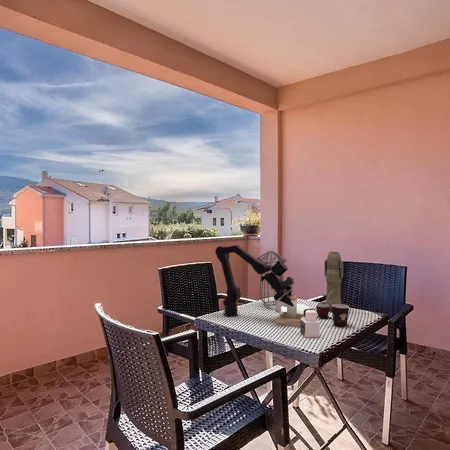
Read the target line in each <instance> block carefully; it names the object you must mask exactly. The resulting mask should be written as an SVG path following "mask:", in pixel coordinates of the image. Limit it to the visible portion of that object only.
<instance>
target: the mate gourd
mask: <svg viewBox="0 0 450 450" xmlns="http://www.w3.org/2000/svg"><path fill="white" fill-rule="evenodd" d="M331 292H333V291H331ZM331 292H330V293H331ZM330 293H329V294H328V297H329V295H330ZM326 297H327V296H326ZM328 297H327V300H328ZM327 300H326V299H325V302H323V301H321V302H317V304H316V307H315V310H316V311H317V318H319V320H322V319H326V320H328V319H329V317H328V316H329V313H330V312H329V310H327V309H329V305H328V304H327ZM326 310H327V312H326V314H327V315H328V316H327V315H326V314H325V311H326Z"/></svg>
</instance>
